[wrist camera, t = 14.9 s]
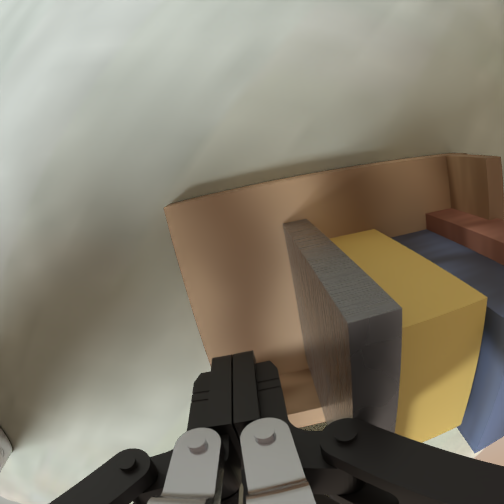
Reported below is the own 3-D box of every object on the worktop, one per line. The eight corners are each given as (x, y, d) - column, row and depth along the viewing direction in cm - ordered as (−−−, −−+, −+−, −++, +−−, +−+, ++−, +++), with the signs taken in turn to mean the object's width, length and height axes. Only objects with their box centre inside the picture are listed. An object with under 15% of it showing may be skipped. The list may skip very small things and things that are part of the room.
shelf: (223, 385, 20) (217, 542, 9) (169, 203, 17) (57, 283, 6) (455, 323, 20) (553, 417, 9) (452, 152, 16) (608, 170, 5)
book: (323, 335, 17) (378, 458, 9) (310, 242, 16) (384, 334, 7) (380, 320, 17) (460, 424, 9) (374, 228, 16) (487, 297, 7)
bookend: (305, 358, 18) (351, 505, 8) (282, 223, 16) (347, 323, 6) (326, 354, 18) (383, 495, 8) (306, 218, 16) (402, 308, 6)
